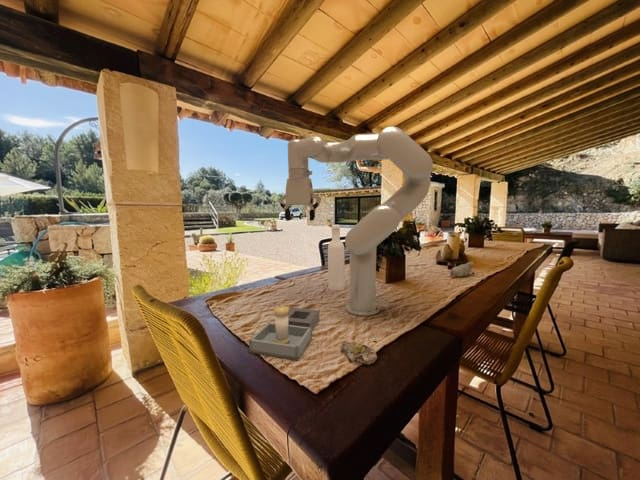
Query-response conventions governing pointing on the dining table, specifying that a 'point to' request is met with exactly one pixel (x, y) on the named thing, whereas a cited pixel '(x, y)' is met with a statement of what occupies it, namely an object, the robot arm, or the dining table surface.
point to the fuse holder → (303, 317)
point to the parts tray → (266, 343)
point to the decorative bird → (461, 270)
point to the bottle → (336, 261)
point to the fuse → (281, 324)
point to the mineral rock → (358, 353)
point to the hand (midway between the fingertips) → (299, 220)
